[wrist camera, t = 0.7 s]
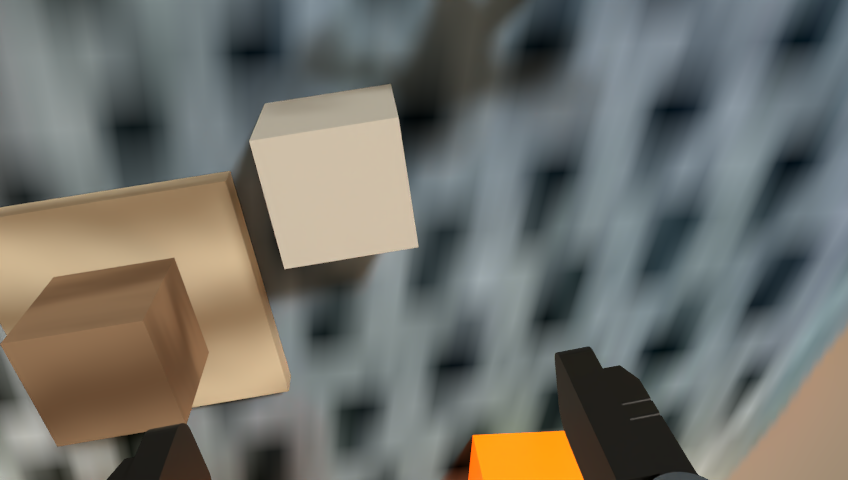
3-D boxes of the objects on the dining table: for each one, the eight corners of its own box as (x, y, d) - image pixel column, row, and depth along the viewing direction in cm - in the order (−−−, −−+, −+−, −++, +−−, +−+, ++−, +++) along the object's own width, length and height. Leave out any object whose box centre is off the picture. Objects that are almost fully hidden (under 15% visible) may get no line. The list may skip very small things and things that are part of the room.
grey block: (265, 102, 28) (249, 141, 23) (390, 83, 28) (398, 117, 23) (293, 215, 30) (284, 269, 26) (408, 197, 30) (418, 247, 26)
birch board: (-39, 213, 28) (-54, 225, 27) (230, 170, 29) (225, 181, 28) (67, 413, 34) (58, 430, 33) (290, 376, 34) (288, 391, 33)
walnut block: (53, 277, 29) (0, 344, 25) (174, 257, 29) (142, 320, 25) (98, 370, 32) (57, 446, 27) (209, 352, 32) (186, 424, 27)
